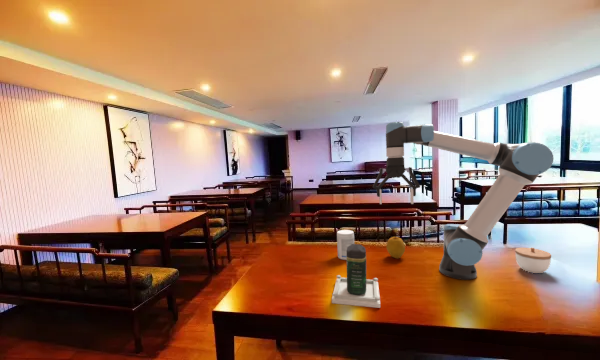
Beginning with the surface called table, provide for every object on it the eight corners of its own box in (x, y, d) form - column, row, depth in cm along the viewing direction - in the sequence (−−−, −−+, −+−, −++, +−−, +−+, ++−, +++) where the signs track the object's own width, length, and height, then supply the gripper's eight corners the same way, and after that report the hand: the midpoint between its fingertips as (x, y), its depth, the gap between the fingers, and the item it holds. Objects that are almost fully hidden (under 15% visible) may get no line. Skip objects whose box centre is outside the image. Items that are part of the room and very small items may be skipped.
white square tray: (378, 285, 114) (377, 277, 114) (380, 307, 97) (380, 299, 97) (336, 281, 119) (336, 274, 118) (332, 303, 101) (331, 294, 101)
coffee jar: (366, 297, 102) (366, 250, 101) (346, 295, 104) (345, 249, 102) (366, 285, 111) (366, 242, 110) (347, 283, 113) (346, 242, 112)
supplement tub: (358, 256, 148) (357, 231, 147) (348, 261, 141) (347, 235, 140) (344, 253, 155) (343, 228, 154) (334, 257, 148) (333, 232, 147)
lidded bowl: (548, 279, 114) (549, 254, 113) (512, 270, 124) (512, 248, 123) (552, 270, 122) (552, 247, 122) (517, 263, 132) (518, 242, 131)
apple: (384, 254, 151) (384, 234, 150) (402, 254, 150) (402, 234, 149) (388, 260, 141) (388, 239, 140) (407, 260, 140) (406, 239, 139)
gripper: (422, 155, 119) (423, 202, 120) (366, 158, 125) (367, 202, 126) (427, 155, 112) (427, 204, 113) (367, 158, 117) (368, 205, 119)
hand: (396, 203), depth 120 cm, fingers open, 13 cm apart
